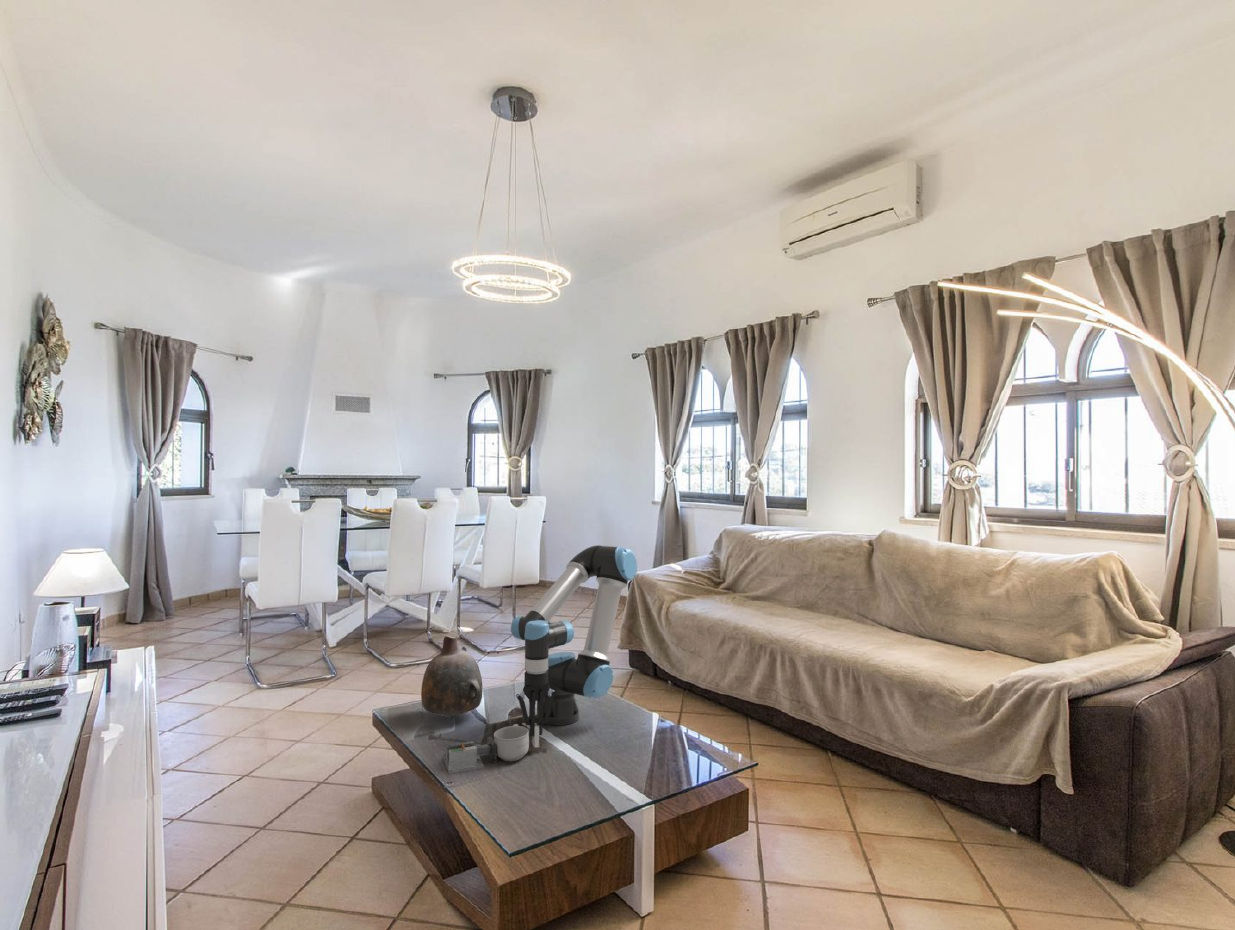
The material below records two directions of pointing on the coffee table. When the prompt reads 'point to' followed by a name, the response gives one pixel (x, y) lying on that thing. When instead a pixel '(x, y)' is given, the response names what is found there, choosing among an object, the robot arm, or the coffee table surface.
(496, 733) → the teacup
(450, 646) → the jug
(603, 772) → the coffee table surface
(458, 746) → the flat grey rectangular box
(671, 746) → the coffee table surface
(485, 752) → the hammer
